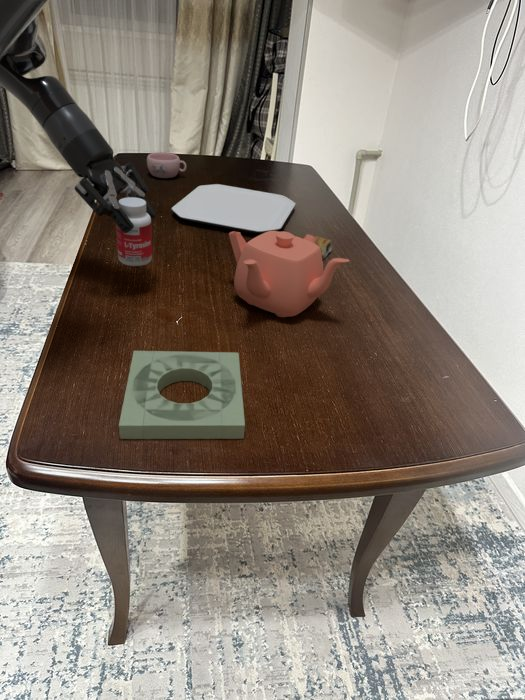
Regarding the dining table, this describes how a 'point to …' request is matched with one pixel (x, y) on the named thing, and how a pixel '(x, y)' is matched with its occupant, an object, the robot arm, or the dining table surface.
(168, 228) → the dining table surface
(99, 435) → the dining table surface
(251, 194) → the plate
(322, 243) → the pastry
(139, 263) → the pill bottle
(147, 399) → the socket pad
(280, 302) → the teapot
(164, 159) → the mug
